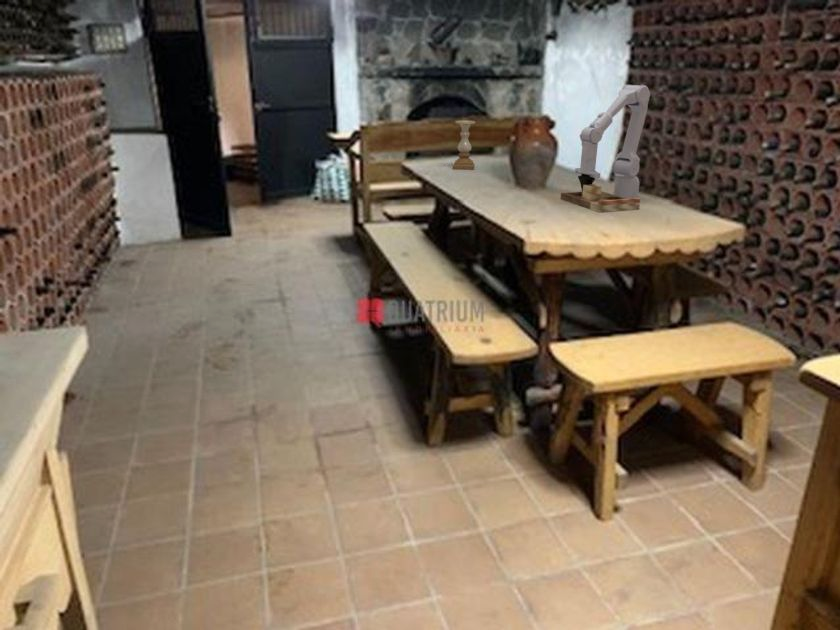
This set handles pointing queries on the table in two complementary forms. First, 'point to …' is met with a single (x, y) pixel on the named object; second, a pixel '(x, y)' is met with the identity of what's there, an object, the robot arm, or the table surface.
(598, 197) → the beech block
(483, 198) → the table surface
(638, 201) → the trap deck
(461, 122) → the candle holder
